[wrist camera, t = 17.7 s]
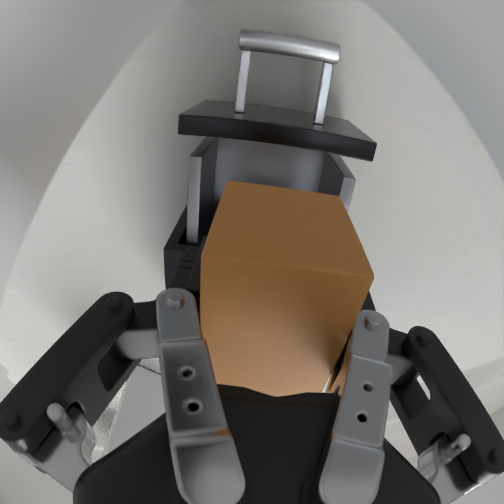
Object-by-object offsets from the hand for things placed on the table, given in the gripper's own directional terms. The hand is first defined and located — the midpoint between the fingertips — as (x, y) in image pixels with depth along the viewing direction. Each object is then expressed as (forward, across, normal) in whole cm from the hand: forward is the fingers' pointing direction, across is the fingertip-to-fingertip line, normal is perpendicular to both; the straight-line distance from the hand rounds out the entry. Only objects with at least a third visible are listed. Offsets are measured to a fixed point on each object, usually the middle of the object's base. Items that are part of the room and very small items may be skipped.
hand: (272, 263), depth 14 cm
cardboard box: (+1, 0, 0) cm, 1 cm away
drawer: (+14, 0, -1) cm, 14 cm away
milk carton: (+15, +14, +36) cm, 42 cm away
